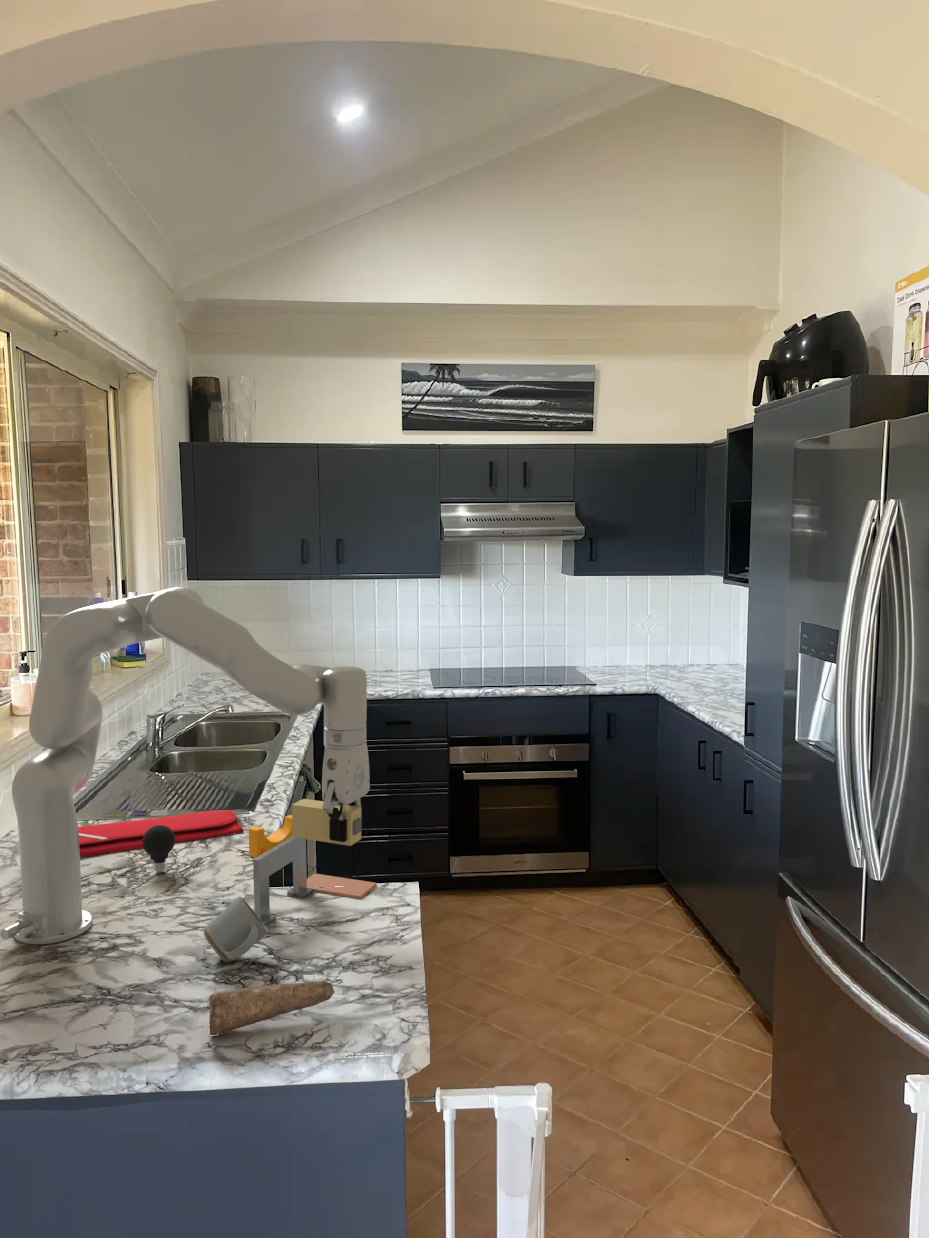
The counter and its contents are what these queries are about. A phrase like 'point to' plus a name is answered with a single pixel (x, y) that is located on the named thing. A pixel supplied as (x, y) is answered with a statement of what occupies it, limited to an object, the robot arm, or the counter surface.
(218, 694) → the counter surface
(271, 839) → the pipe clamp
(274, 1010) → the brown tapered cone
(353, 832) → the tan rectangular block
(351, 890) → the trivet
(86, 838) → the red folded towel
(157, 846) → the black rubber blower bulb
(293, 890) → the grey u-shaped piece
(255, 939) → the ceramic mug
